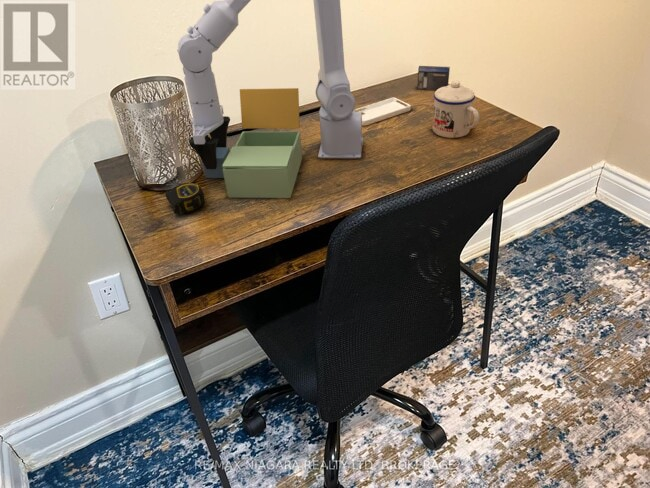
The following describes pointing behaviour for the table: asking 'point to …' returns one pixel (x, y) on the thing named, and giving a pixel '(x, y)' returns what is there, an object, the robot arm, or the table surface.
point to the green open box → (263, 164)
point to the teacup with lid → (454, 111)
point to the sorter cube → (221, 157)
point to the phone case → (382, 110)
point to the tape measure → (185, 197)
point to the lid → (270, 108)
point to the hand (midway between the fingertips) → (216, 159)
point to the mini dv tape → (432, 77)
